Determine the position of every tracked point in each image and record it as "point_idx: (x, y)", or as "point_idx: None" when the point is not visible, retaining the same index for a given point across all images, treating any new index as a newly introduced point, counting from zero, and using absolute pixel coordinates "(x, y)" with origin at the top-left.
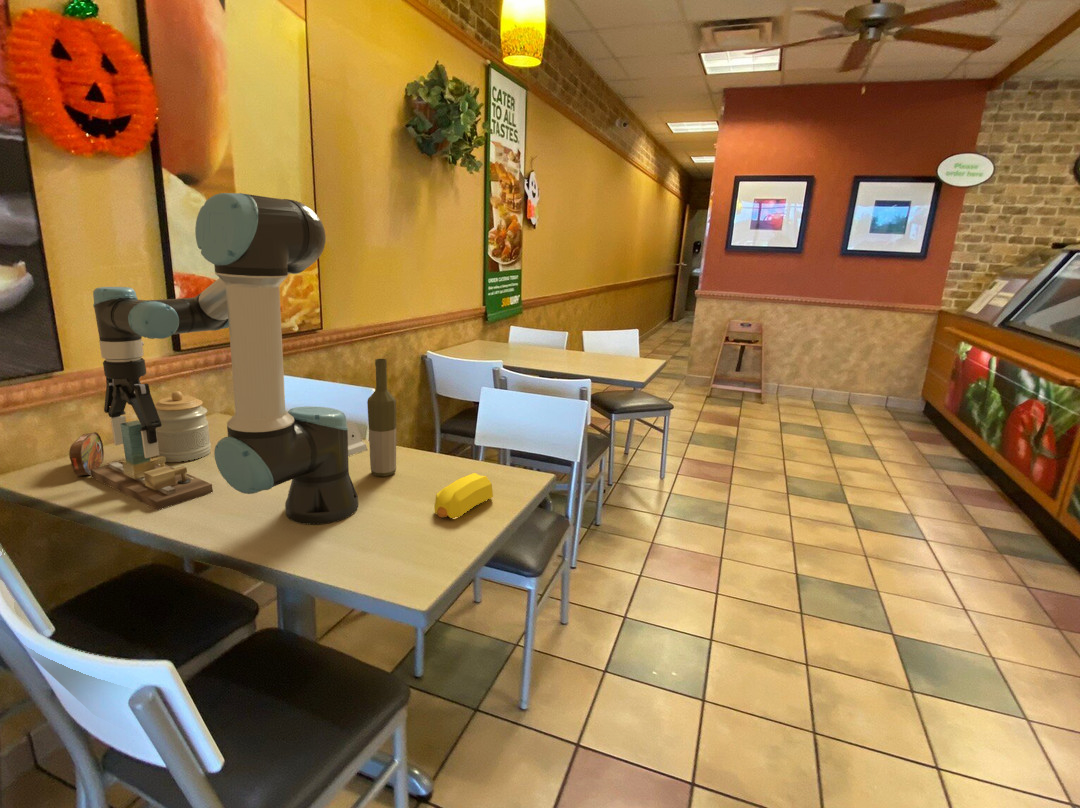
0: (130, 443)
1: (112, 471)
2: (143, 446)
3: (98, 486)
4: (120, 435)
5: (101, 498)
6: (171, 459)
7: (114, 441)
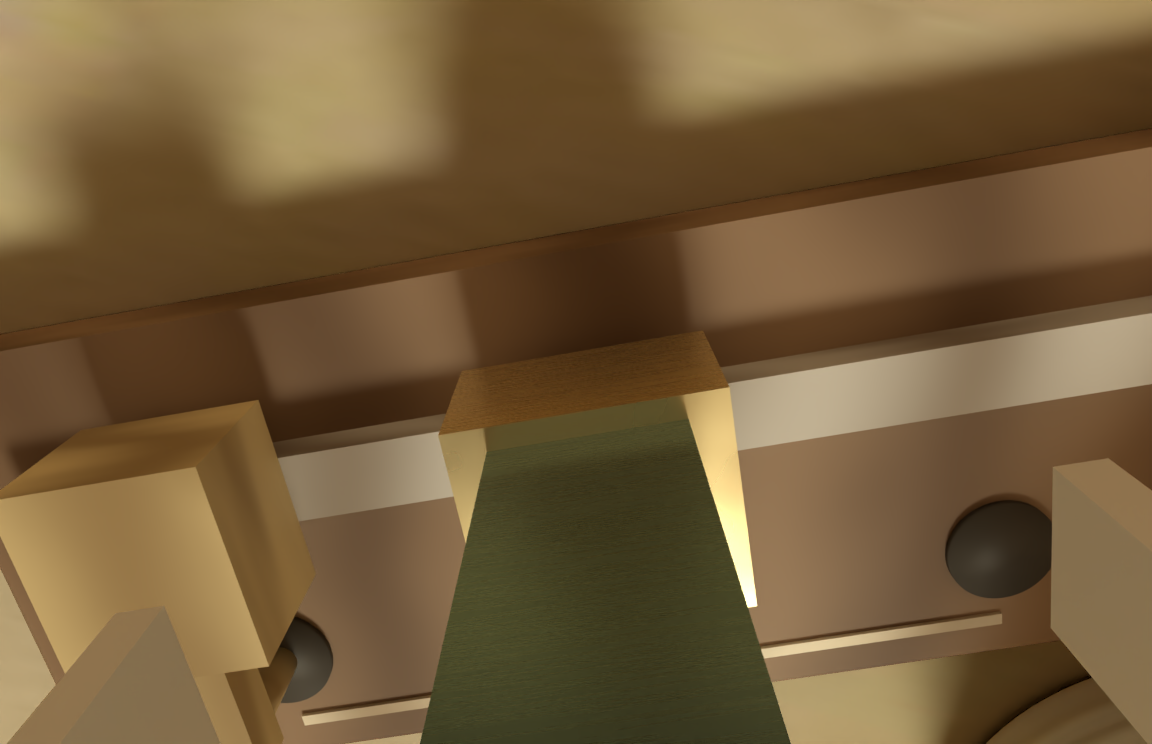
0: (446, 638)
1: (1034, 281)
2: (52, 741)
3: (907, 105)
4: (1148, 633)
5: (553, 49)
6: (1028, 732)
7: (1130, 489)
